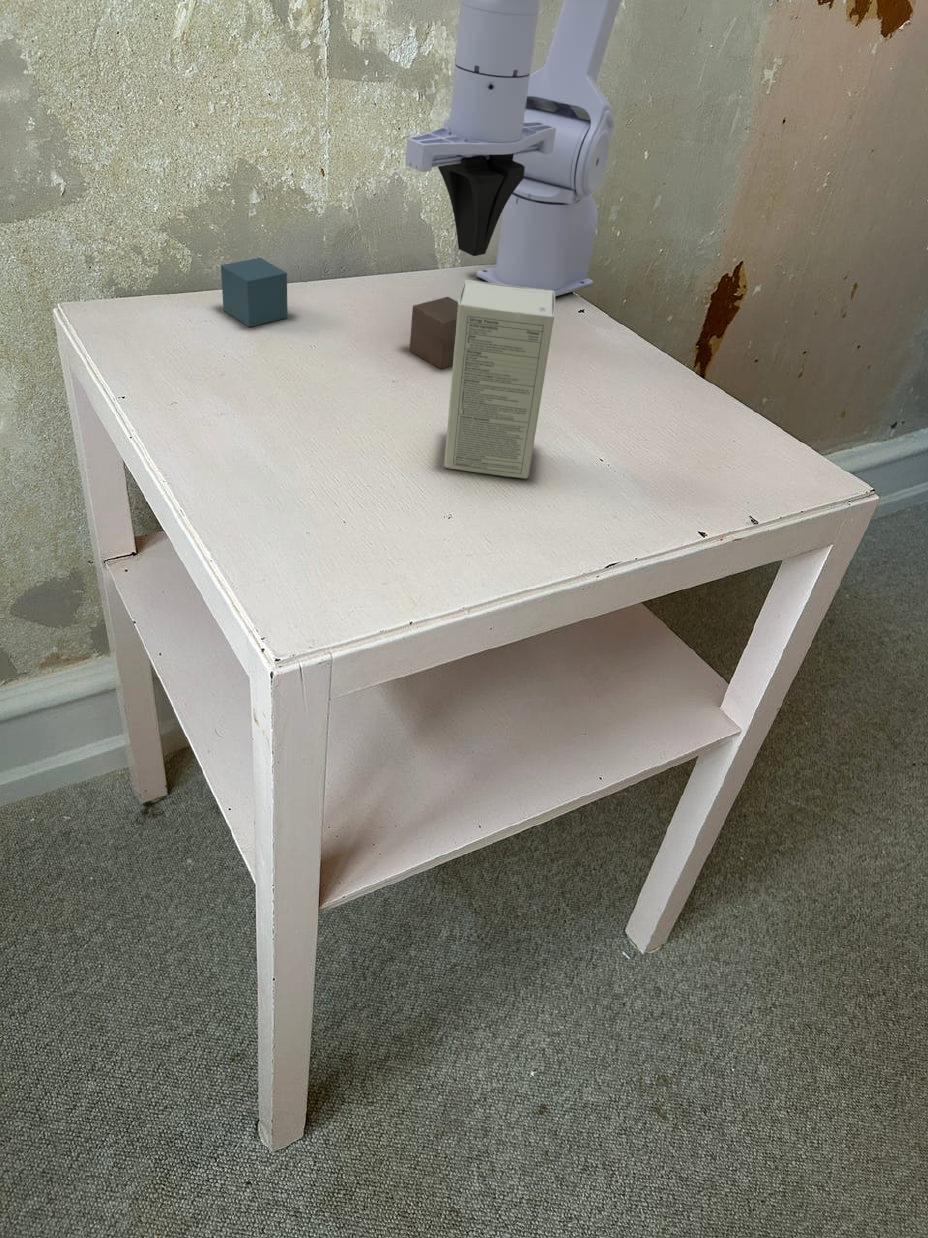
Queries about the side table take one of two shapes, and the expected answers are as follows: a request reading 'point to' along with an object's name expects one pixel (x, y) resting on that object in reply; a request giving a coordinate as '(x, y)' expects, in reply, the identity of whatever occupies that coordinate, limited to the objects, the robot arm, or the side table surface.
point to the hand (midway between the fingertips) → (471, 251)
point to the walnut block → (434, 331)
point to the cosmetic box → (497, 377)
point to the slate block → (254, 291)
